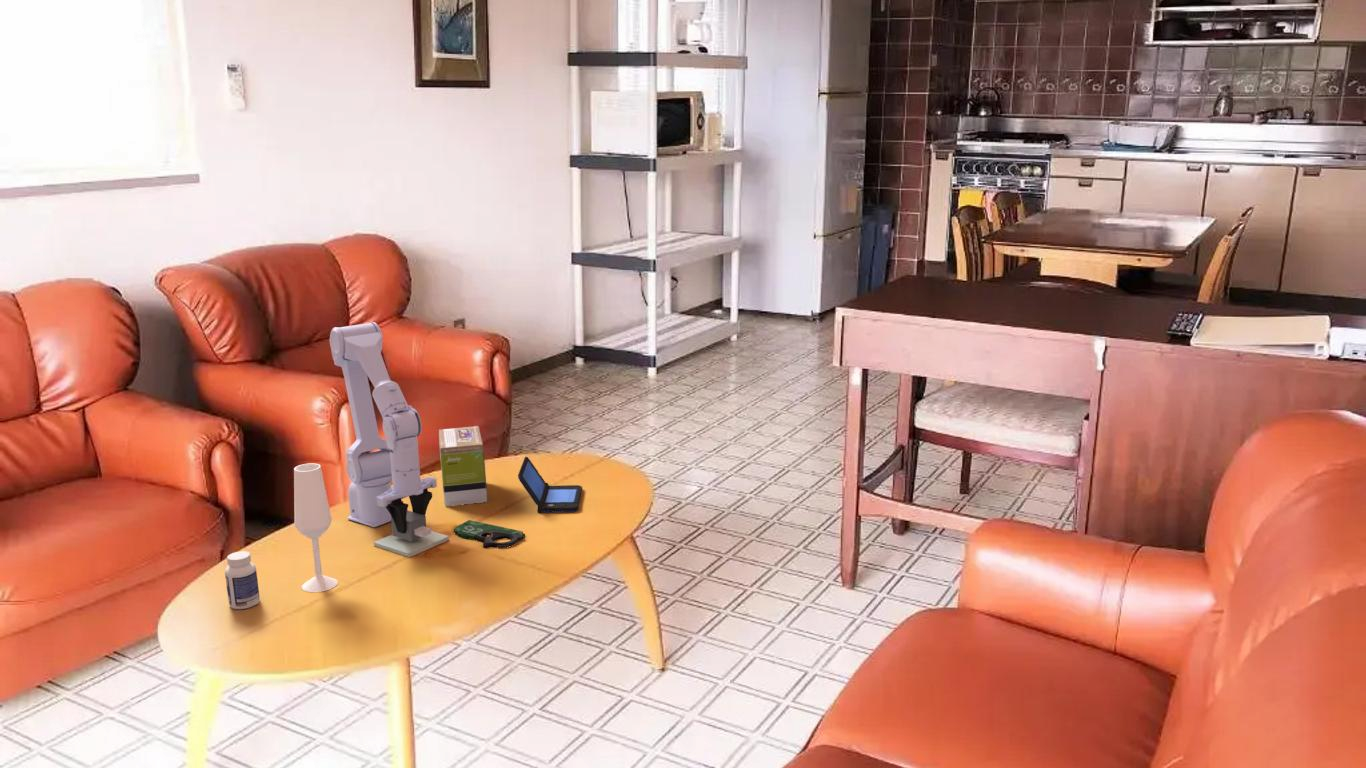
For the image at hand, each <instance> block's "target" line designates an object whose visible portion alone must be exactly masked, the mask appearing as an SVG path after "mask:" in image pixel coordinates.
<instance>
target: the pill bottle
mask: <svg viewBox="0 0 1366 768" xmlns="http://www.w3.org/2000/svg"><path fill="white" fill-rule="evenodd" d="M226 561H227V563H226V564H227V567H226V568H225V569H224V575H225V577H224V579H225V584H226V593H227V597H228V604H229V605H228V606H229V607H230V608H231V609H234V610H244V609H250V608H252V607H254V606H256V605H258V604H259V602H260V599H261V598H260V589H259V582H258V573H257V572H258V571H257V567H256V565H255V563H253V562H252V557H251V553H250V552H249V551H245V550H244V551H243V550H242V551H235V552H232V553H230V554H229V555H227V557H226Z"/></svg>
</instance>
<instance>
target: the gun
mask: <svg viewBox="0 0 1366 768" xmlns="http://www.w3.org/2000/svg"><path fill="white" fill-rule="evenodd" d="M453 533H454V535H455V536H457V537H459V538H461V539H465V540H472V541H476V540H477V541H476V542H481V543H482V548H483V549H491V548H490V547H493V548H497V547H498V549H507V547H508V548H509V546H510V547H513V546H515V545H517V544H518V543H519V542H522V541H524V540H525V537H526V533H524V532H523V531H522V530H518V529H513V528H508V527H503V526H499V525H495V524H489V523H485V522H480V521H476V520H471V519H468V520H466V521H464V522H463V523H461V524H459V525H456V526H455V527H454V528H453ZM503 538H507V539H506V540H508V541H504V542H497V541H498V540H504V539H503ZM497 539H498V540H497ZM509 539H510V540H509ZM523 539H524V540H523ZM495 540H496V541H495ZM521 540H522V541H521ZM516 543H517V544H516ZM514 544H515V545H514ZM512 545H513V546H512Z"/></svg>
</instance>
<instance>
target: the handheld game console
mask: <svg viewBox="0 0 1366 768" xmlns="http://www.w3.org/2000/svg"><path fill="white" fill-rule="evenodd" d="M517 478H518V480H519V482H520V483H521V485H522V487H523V488H524V489H525V491H526V492H527V494H528V495H529V497H531V500H532V501H533V502H534V504H535V505H536V506H537V509H536V512H537V513H539V514H542V513H574V512H577V511H578V510H579V508H580V503H581V497H582V494H583V493H582V492H583V486H582V485H579V484H577V485H575V484H574V485H573V484H571V485H570V484H569V485H563V484H562V485H549V483H548V482H546V481H545V479H544V478H543V476H542V475H541V474H540V472H539V471H538V469H537V468H536V466H535V465H534V464H533V463H532V460H531V459H530V458H529V457H527V456H525V457H524V458H523V461H522V464H521V466H520V469H519V471H518V474H517Z"/></svg>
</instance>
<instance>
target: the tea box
mask: <svg viewBox="0 0 1366 768" xmlns="http://www.w3.org/2000/svg"><path fill="white" fill-rule="evenodd" d="M438 441H439V442H438V443H439V444H438V445H439V456H440V457H439V458H440V469H441V480H442V481H441V482H442V489H443V497H444V498H443V500H444V506H445V507H446V506H448V507H453V506H452V505H459V506H463V505H462V504H468V505H474V504H473V503H478V504H485V503H488V493H487V491H488V489H487V477H486V476H487V475H486V463H485V452H484V451H485V450H484V444H483V443H484V442H483V439H482V435H481V430H480V427H479V425H474V426H464V427H455V428H443V429H440V428H439V429H438ZM484 502H485V503H484Z"/></svg>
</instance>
